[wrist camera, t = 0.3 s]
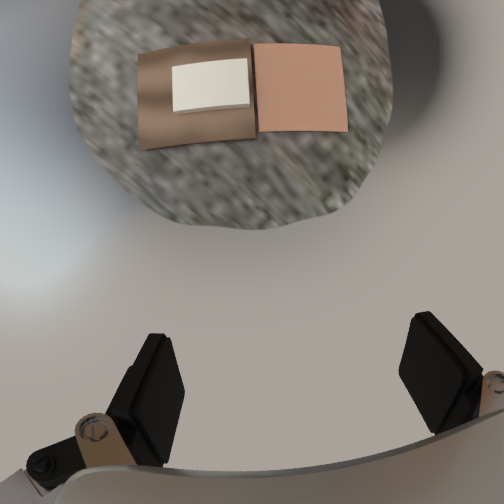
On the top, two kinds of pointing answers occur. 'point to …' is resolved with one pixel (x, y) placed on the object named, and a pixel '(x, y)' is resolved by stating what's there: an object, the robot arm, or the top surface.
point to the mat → (300, 88)
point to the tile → (210, 86)
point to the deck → (196, 123)
